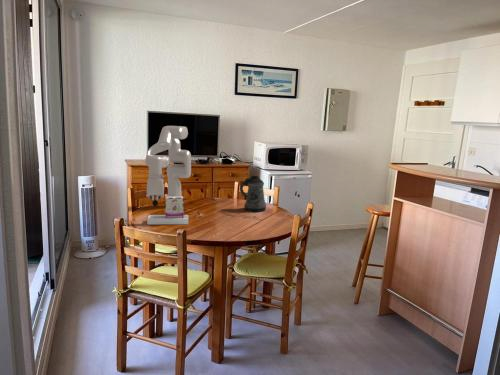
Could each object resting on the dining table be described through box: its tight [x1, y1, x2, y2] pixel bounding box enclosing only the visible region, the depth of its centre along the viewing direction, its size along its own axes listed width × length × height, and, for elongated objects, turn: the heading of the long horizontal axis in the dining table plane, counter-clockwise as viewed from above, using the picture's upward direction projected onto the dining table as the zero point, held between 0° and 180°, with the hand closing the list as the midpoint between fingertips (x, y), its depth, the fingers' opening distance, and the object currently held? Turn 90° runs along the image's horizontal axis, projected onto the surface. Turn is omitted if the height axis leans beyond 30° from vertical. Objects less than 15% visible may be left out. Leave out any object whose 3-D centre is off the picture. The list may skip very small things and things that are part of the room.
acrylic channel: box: [146, 214, 189, 225], centre depth 226 cm, size 9×24×4 cm, turn 99°
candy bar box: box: [164, 195, 185, 218], centre depth 226 cm, size 11×5×16 cm, turn 101°
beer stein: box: [239, 175, 267, 213], centre depth 267 cm, size 16×19×25 cm
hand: (155, 206), depth 223 cm, fingers closed
